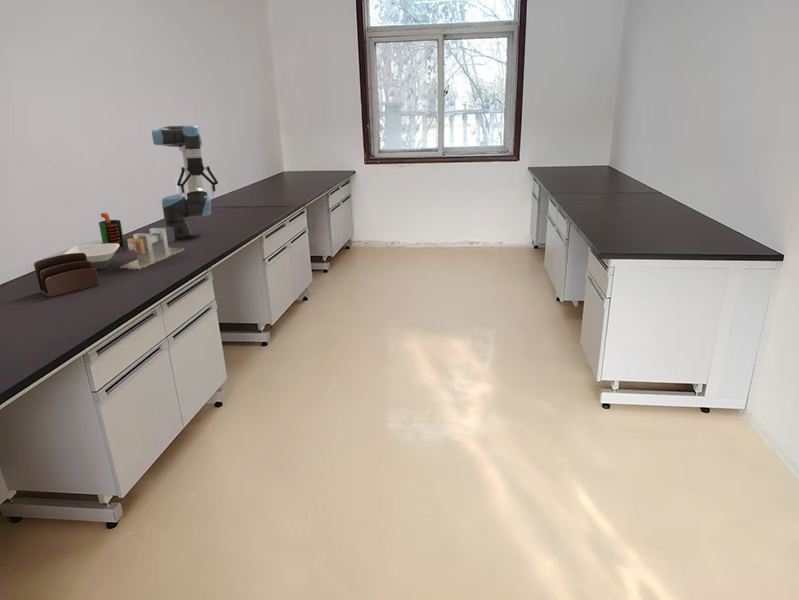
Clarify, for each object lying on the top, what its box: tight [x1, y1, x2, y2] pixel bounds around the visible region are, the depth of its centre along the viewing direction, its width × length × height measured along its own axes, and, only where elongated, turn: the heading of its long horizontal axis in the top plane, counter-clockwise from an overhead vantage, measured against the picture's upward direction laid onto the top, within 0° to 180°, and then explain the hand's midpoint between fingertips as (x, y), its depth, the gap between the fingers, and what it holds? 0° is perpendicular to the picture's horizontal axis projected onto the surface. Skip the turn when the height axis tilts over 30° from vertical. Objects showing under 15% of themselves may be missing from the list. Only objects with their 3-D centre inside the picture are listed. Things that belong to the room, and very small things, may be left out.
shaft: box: [127, 226, 176, 251], centre depth 266 cm, size 5×30×7 cm, turn 167°
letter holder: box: [33, 253, 101, 298], centre depth 225 cm, size 10×20×14 cm, turn 139°
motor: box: [98, 212, 126, 253], centre depth 281 cm, size 10×9×20 cm
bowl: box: [62, 243, 120, 270], centre depth 256 cm, size 22×23×8 cm
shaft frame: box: [120, 227, 185, 270], centre depth 267 cm, size 10×36×14 cm, turn 167°
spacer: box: [126, 237, 145, 255], centre depth 256 cm, size 7×2×7 cm, turn 77°
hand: (199, 198), depth 285 cm, fingers open, 13 cm apart
